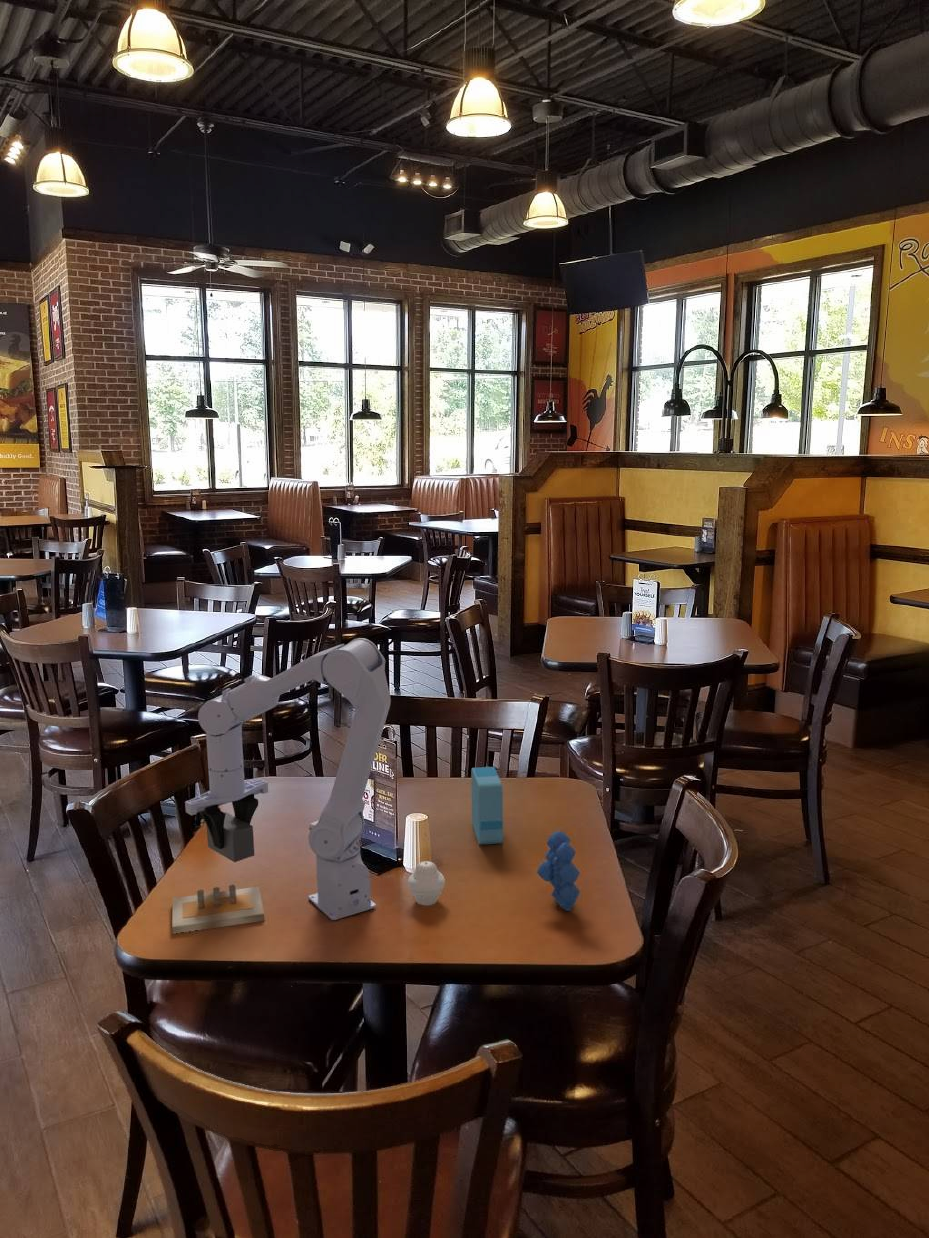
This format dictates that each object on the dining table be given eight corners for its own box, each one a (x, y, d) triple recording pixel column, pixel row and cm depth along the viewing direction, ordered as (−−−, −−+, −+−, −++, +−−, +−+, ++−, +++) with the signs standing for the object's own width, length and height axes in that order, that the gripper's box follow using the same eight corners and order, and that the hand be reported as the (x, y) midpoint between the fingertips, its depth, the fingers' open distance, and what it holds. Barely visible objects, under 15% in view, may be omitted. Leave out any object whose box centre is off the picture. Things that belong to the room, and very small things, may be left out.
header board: (259, 892, 161) (258, 869, 160) (264, 920, 151) (263, 896, 151) (173, 905, 157) (171, 881, 156) (172, 934, 148) (170, 909, 147)
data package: (503, 846, 179) (502, 785, 177) (479, 847, 178) (478, 786, 176) (494, 821, 190) (493, 764, 188) (471, 822, 190) (471, 765, 188)
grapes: (527, 889, 161) (527, 822, 159) (565, 885, 162) (566, 819, 160) (546, 923, 150) (546, 851, 148) (587, 918, 151) (588, 847, 149)
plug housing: (207, 846, 163) (206, 818, 162) (227, 840, 166) (225, 812, 165) (234, 862, 157) (232, 832, 156) (254, 855, 159) (252, 826, 158)
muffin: (432, 913, 153) (431, 872, 152) (400, 904, 156) (399, 864, 155) (452, 897, 158) (451, 858, 157) (421, 889, 162) (421, 850, 160)
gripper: (251, 751, 166) (255, 824, 169) (174, 771, 156) (179, 848, 159) (273, 760, 161) (277, 835, 164) (195, 781, 151) (200, 861, 154)
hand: (230, 843), depth 161 cm, fingers closed on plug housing, 4 cm apart
